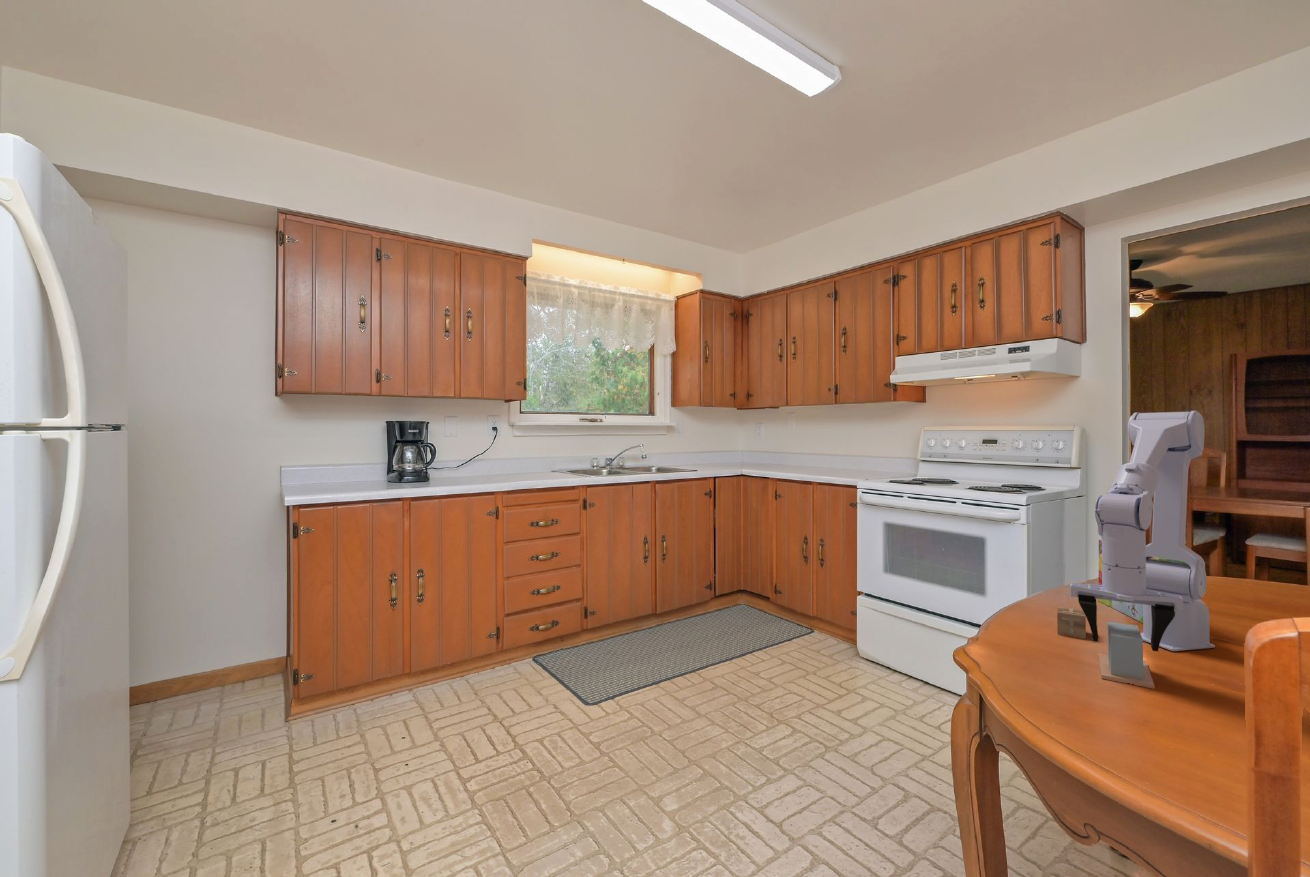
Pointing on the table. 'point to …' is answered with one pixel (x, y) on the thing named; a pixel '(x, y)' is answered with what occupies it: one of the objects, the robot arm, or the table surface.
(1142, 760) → the table surface
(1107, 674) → the terracotta tile
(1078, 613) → the letter block
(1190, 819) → the table surface
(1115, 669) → the gray block
